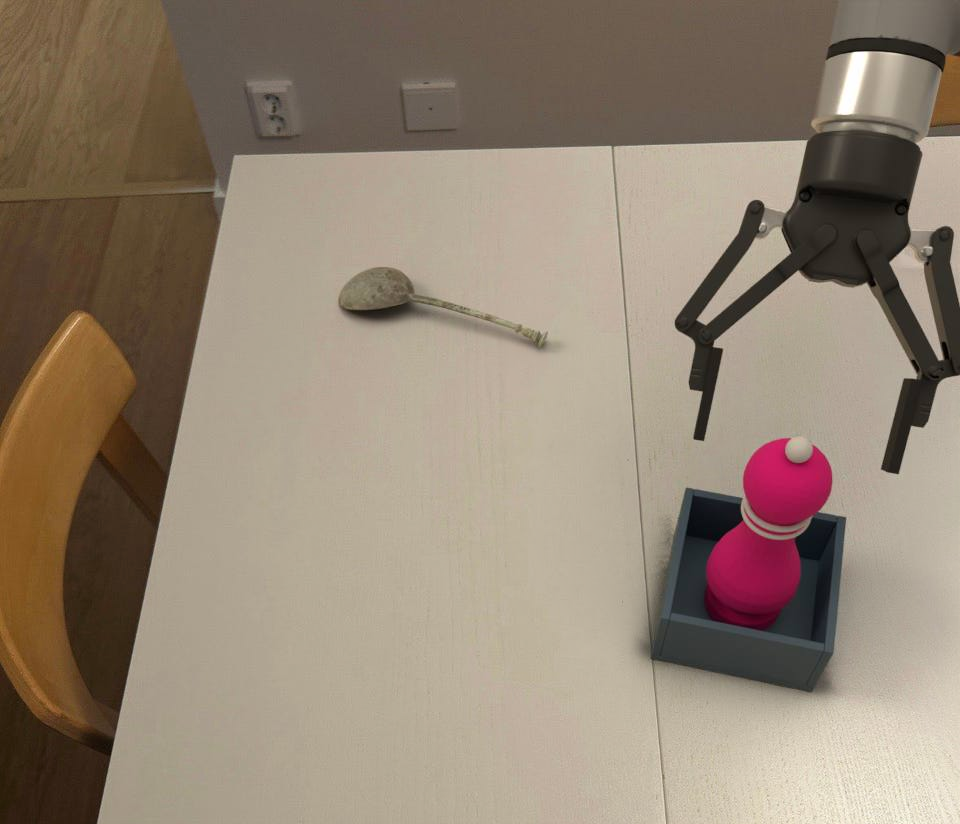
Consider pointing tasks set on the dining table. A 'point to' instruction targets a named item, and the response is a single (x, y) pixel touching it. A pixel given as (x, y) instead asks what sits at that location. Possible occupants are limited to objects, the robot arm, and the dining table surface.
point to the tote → (738, 650)
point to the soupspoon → (407, 297)
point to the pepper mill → (767, 534)
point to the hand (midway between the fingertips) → (792, 456)
